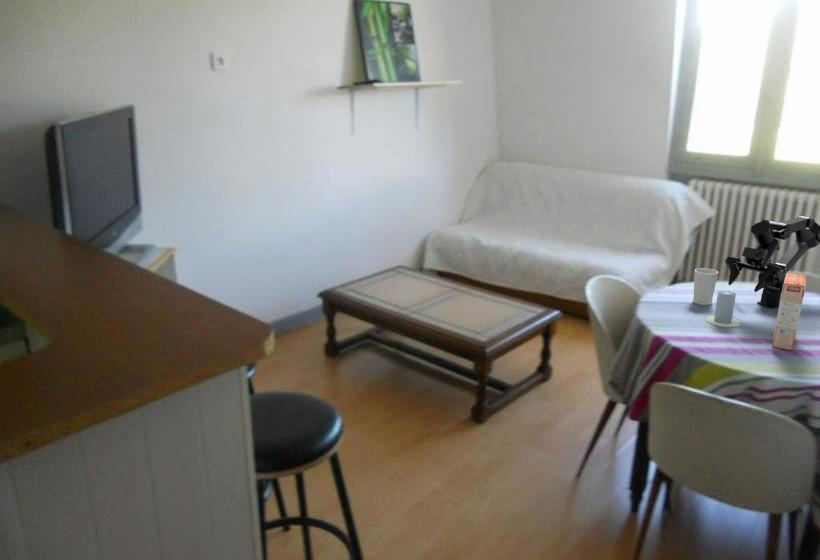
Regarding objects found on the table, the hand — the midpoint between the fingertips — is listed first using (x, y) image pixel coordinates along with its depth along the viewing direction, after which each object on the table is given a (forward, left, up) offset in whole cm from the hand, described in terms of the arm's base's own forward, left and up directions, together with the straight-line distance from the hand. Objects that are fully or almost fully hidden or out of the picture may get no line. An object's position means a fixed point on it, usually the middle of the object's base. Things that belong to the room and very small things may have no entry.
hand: (741, 287), depth 225 cm
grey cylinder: (+9, +2, -10) cm, 14 cm away
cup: (0, -17, -11) cm, 20 cm away
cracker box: (+5, +24, -11) cm, 26 cm away
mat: (+9, +2, -10) cm, 14 cm away
